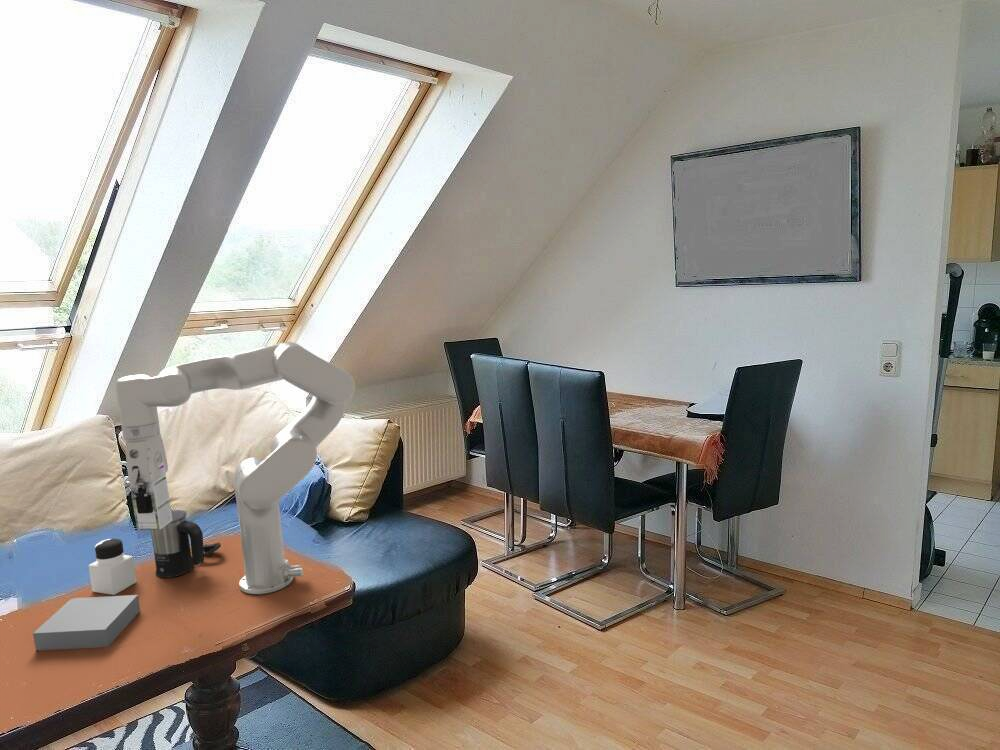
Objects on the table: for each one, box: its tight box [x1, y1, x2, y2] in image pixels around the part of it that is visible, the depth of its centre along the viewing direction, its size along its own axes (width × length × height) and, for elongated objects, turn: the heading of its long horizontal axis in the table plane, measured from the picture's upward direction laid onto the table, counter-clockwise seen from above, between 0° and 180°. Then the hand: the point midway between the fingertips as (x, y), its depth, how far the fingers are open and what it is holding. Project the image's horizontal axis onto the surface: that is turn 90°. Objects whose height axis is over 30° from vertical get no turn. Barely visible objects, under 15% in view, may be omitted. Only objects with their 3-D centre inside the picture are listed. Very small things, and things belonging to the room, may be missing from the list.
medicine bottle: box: [88, 538, 138, 596], centre depth 181 cm, size 7×7×12 cm
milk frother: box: [149, 509, 222, 578], centre depth 192 cm, size 14×16×15 cm
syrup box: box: [129, 462, 172, 531], centre depth 167 cm, size 6×6×14 cm
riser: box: [32, 594, 141, 651], centre depth 162 cm, size 15×15×4 cm
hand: (152, 506), depth 167 cm, fingers closed on syrup box, 6 cm apart
